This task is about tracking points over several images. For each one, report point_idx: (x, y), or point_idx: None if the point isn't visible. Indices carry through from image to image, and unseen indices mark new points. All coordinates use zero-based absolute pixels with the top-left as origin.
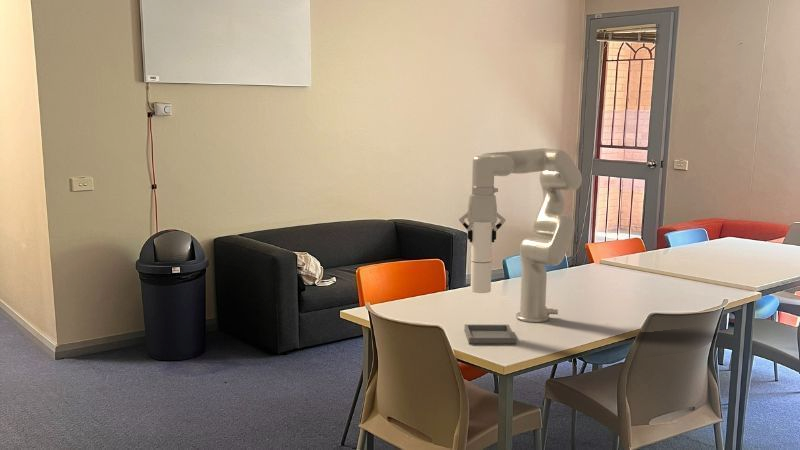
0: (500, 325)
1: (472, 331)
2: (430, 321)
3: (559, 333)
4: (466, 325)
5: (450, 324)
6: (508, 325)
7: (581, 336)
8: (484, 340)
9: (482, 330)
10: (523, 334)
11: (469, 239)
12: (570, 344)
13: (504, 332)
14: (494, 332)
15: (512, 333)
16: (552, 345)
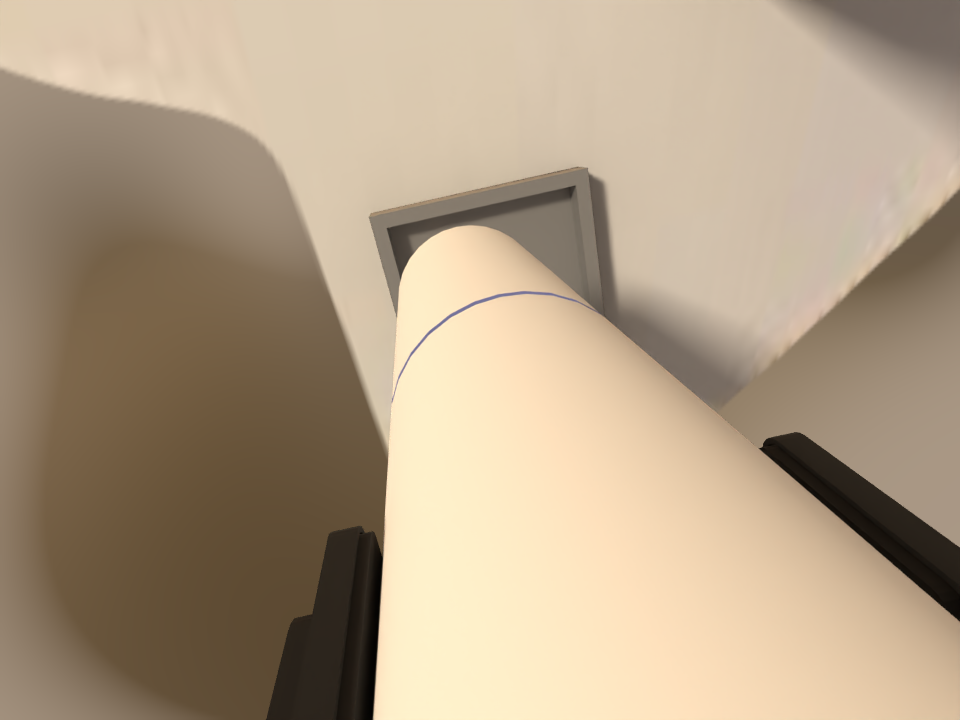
0: (547, 191)
1: (414, 242)
2: (141, 62)
3: (800, 153)
4: (381, 233)
5: (274, 104)
6: (586, 184)
7: (879, 180)
8: None
9: (459, 215)
10: (641, 207)
11: (328, 545)
12: (804, 302)
13: (561, 224)
14: (516, 234)
15: (599, 312)
16: (735, 331)
